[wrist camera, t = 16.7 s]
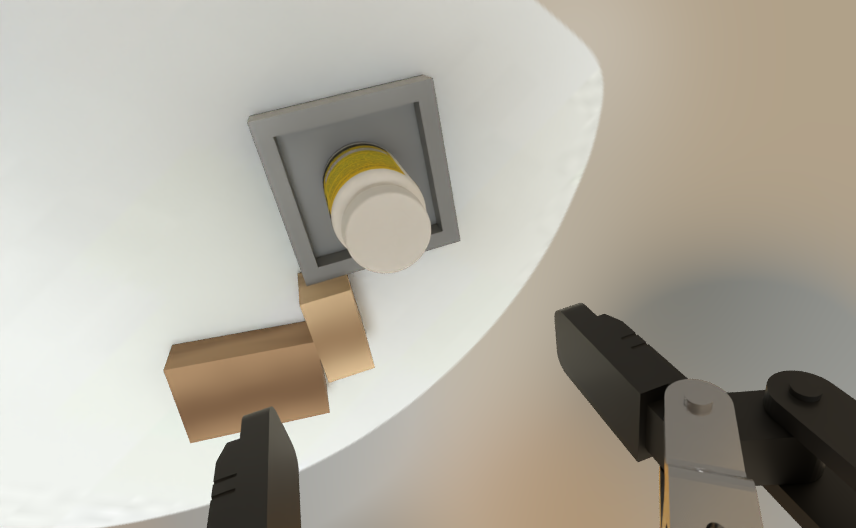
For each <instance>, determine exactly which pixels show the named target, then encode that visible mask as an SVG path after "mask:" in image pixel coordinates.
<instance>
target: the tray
mask: <svg viewBox="0 0 856 528" xmlns="http://www.w3.org/2000/svg"><path fill="white" fill-rule="evenodd" d="M247 124H248V126H249V129H250V132H251V135H252V137H253V140H254V143H255V146H256V148H257V151H258V154H259V157H260V159H261V162H262V165H263V168H264V170H265V173H266V176H267V179H268V181H269V184H270V187H271V190H272V192H273V195H274V198H275V201H276V203H277V206H278V209H279V212H280V214H281V217H282V220H283V223H284V225H285V228H286V231H287V234H288V236H289V239H290V242H291V245H292V247H293V250H294V253H295V256H296V258H297V261H298V264H299V267H300V269H301V272H302V275H303V277H304V280H305V283H306V286H309V285H313V284H316V283H320V282H323V281H326V280H330V279H333V278H337V277H340V276H343V275H347V274H350V273H354V272H357V271H360V270H364V269H365V268H363V267H362V266H360V265H359V264H358V263H357V262H356V261H355V260H354V259H353V258H352V257H351V255H350V253H349V251H348V249H347V248H346V247H345V246H344V245H343V244H342V243H341V242H340V241H339V239H338V238H337V236H336V234H335V232H334V229H333V227H332V223H331V218H330V215H329V210H328V206H327V202H326V198H325V194H324V190H323V174H324V170H325V167H326V165H327V163H328V161H329V160H330V158H331V157H332V156H333V155H334V154H335V153H336V152H337V151H338V150H340V149H341V148H343V147H345V146H347V145H350V144H353V143H358V142H367V143H372V144H376V145H378V146H380V147H382V148H384V149H386V150H387V151H388V152H390V153H391V154H392V155H393V157H394V158H395V159H396V160H397V161H398V163H399V164H400V165H401V166H402V168H403V169H404V170H405V171H406V173H407V174H408V175H409V176H410V177H411V179H412V180H413V181H414V182H415V183H416V185H417V186H418V188H419V189H420V191H421V193H422V195H423V198H424V201H425V205H426V212H427V214H428V216H429V219H430V223H431V236H430V241H429V244H428V246H427V248H426V250H425V251H428V250H431V249H435V248H438V247H442V246H445V245H448V244H452V243H455V242H459V241H460V235H459V229H458V224H457V218H456V212H455V206H454V200H453V194H452V188H451V182H450V177H449V171H448V165H447V159H446V153H445V147H444V141H443V136H442V130H441V124H440V118H439V112H438V106H437V100H436V94H435V89H434V83H433V78H431V77H428V76H426V75H420V76H416V77H412V78H407V79H403V80H399V81H395V82H391V83H386V84H382V85H378V86H374V87H370V88H365V89H361V90H357V91H353V92H349V93H344V94H340V95H336V96H332V97H328V98H324V99H319V100H315V101H311V102H307V103H303V104H298V105H294V106H290V107H286V108H282V109H277V110H273V111H269V112H265V113H261V114H256V115H252V116H249V119H248V122H247Z"/></svg>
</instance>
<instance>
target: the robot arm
mask: <svg viewBox="0 0 856 528" xmlns="http://www.w3.org/2000/svg"><path fill="white" fill-rule="evenodd" d="M555 330H556V344H557V354H558V358H559V361H560V364H561V366H562V368H563V369H564V371H565V373H566V374H567V376H568V377H569V378H570V379H571V381H572V382H573V383H574V384H575V385H576V387H577V388H578V389H579V390H580V391H581V393H582V394H583V395H584V397H585V398H586V399H587V400H588V401H589V403H590V404H591V405H592V406H593V408H594V409H595V410H596V411H597V413H598V414H599V415H600V416H601V418H602V419H603V420H604V421H605V422H606V424H607V425H608V426H609V427H610V429H611V430H612V431H613V432H614V434H615V435H616V436H617V437H618V438H619V440H620V441H621V442H622V443H623V445H624V446H625V447H626V448H627V450H628V451H629V452H630V453H631V454H632V456H633V457H634V458H635V459H636V461H638V462H640V461H642V460H645V459H647V458H650V457H653V458H654V459H655V460H656V461H657V462H658V464H659V516H660V528H763V523H762V517H761V512H760V507H759V502H758V496H757V491H756V487H755V486H760V485H762V486H763V487H764V488H765V489H766V490H767V491H768V492H769V493H770V494H771V495H772V496H773V497H774V499H775V500H776V501H777V502H778V503H779V504H780V505H781V506H782V507H783V508H784V509H785V510H786V511H787V512H788V513H789V514H790V515H791V516H792V518H793V519H794V520H795V521H796V522H797V523H798V524H799V525H800V526H801V527H802V528H856V400H855V399H853V398H852V397H850V396H849V395H848V394H846V393H845V392H843V391H842V390H840V389H839V388H838V387H836V386H835V385H834V384H832V383H831V382H829V381H827V380H826V379H824V378H822V377H819V376H817V375H814V374H811V373H807V372H802V371H782V372H778V373H776V374H774V375H772V376H771V377H770V378H769V379H768V381H767V385H766V390H759V391H747V392H732V393H727V392H725V391H724V390H723V389H721V388H720V387H718V386H716V385H714V384H712V383H710V382H707V381H703V380H698V379H688V378H686V377H685V376H684V375H683V374H682V373H681V372H680V371H678V370H677V369H676V368H675V367H674V366H673V365H672V364H670V363H669V362H668V361H667V360H666V359H665V358H664V357H662V356H661V355H660V354H659V353H658V352H657V351H656V350H654V349H653V348H652V347H651V346H650V345H647V344H646V342H645V341H644V340H643V339H642V338H641V337H640V336H639V335H636V334H635V332H634V331H633V330H632V329H630V328H629V327H628V326H627V325H626V324H625V323H624V322H622V321H620V320H618V319H616V318H613V317H611V316H609V315H606V314H603V315H600V316H596V315H595V314H594V313H593V312H592V311H591V310H590V309H589V308H588V307H587V306H586V305H584V304H583V303H578V304H575V305H572V306H569V307H567V308H563V309H561V310H558V311H556V312H555ZM211 497H212V500H211V502H210V509H209V516H208V523H207V528H301V515H300V493H299V469H298V462H297V457H296V453H295V450H294V447H293V445H292V442H291V440H290V438H289V436H288V434H287V432H286V430H285V428H284V426H283V424H282V422H281V420H280V418H279V416H278V414H277V412H276V410H275V409H274V407H272V406H271V407H268V408H265V409H262V410H259V411H256V412H253V413H250V414H247V415H244V416H243V417H242V421H241V432H240V439H237V440H234V441H231V442H228V443H227V444H226V445H225V447H224V449H223V451H222V453H221V454H220V456H219V458H218V460H217V462H216V466H215V474H214V485H213V488H212V495H211Z"/></svg>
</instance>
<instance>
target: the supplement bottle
mask: <svg viewBox="0 0 856 528" xmlns="http://www.w3.org/2000/svg"><path fill="white" fill-rule="evenodd" d="M323 190H324V194H325V198H326V202H327V206H328V210H329V215H330V218H331V223H332V227H333V229H334V232H335V234H336V236H337V238H338V239H339V241H340V242H341V243H342V244H343V245H344V246H345V247H346V248H347V249H348V251H349V253H350V255H351V257H352V258H353V259H354V260H355V261H356V262H357V263H358V264H359V265H360V266H362V267H363V268H365V269H367V270H370V271H372V272H376V273H394V272H398V271H401V270H403V269H406V268H408V267H409V266H411V265H412V264H414V263H415V262H416V261H417V260H418V259H419V258H420V257H421V256H422V254H423V253H424V252H425V250H426V248H427V246H428V244H429V241H430V236H431V223H430V219H429V216H428V214H427V212H426V205H425V201H424V198H423V195H422V193H421V191H420V189H419V188H418V186H417V185H416V183H415V182H414V181H413V180H412V179H411V177H410V176H409V175H408V174H407V173H406V171H405V170H404V169H403V168H402V166H401V165H400V164H399V163H398V161H397V160H396V159H395V158H394V157H393V155H392V154H391V153H390V152H388V151H387V150H386V149H384V148H382V147H380V146H378V145H376V144H372V143H367V142H358V143H353V144H350V145H347V146H345V147H343V148H341V149H340V150H338V151H337V152H336V153H335V154H334V155H333V156H332V157H331V158H330V160H329V161H328V163H327V165H326V167H325V170H324V174H323Z"/></svg>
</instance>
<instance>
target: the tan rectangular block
mask: <svg viewBox="0 0 856 528" xmlns="http://www.w3.org/2000/svg"><path fill="white" fill-rule="evenodd" d="M298 287H299V303H300V307H301V310H302V313H303V315H304V318H305V321H306V323H307V326H308V328H309V331H310V334H311V336H312V339H313V342H314V344H315V347H316V349H317V352H318V355H319V357H320V360H321V363H322V365H323V368H324V370H325V373H326V376H327V378H328V381H329V383H330V382H333V381H336V380H339V379H342V378H345V377H348V376H351V375H354V374H357V373H360V372H363V371H366V370H369V369H372V368H375V366H374V363H373V359H372V355H371V352H370V348H369V344H368V341H367V337H366V333H365V330H364V327H363V324H362V320H361V317H360V314H359V311H358V307H357V304H356V301H355V298H354V295H353V291H352V288H351V285H350V282H349V278H348V275H343V276H340V277H337V278H333V279H330V280H326V281H323V282H320V283H316V284H313V285H309V286H306V283H305V280H304V277H303V275H302V273H299V274H298Z"/></svg>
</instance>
